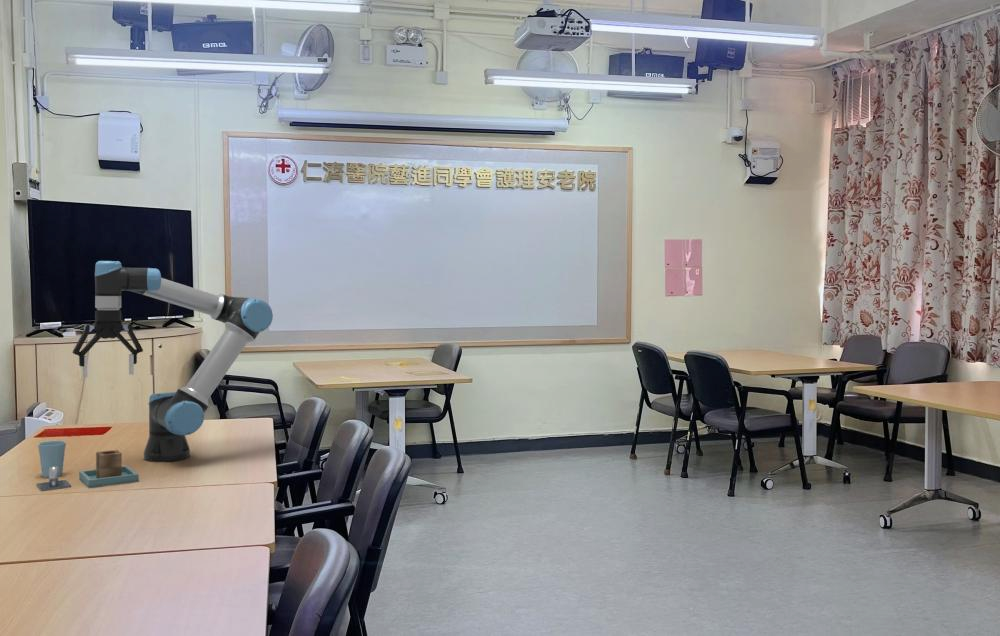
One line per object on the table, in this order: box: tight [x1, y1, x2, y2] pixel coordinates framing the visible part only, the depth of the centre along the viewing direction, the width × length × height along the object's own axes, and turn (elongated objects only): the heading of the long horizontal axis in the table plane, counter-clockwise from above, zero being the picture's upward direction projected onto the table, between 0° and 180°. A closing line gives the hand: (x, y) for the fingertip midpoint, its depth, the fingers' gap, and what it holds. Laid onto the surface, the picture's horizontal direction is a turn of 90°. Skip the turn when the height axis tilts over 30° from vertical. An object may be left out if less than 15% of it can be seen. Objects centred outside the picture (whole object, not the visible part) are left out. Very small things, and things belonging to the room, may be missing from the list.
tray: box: [78, 465, 140, 489], centre depth 250 cm, size 14×14×2 cm
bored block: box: [95, 449, 123, 479], centre depth 250 cm, size 6×6×8 cm
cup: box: [37, 440, 67, 478], centre depth 254 cm, size 8×8×10 cm
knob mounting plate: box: [36, 466, 72, 492], centre depth 242 cm, size 8×8×6 cm
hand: (108, 375), depth 257 cm, fingers open, 13 cm apart
